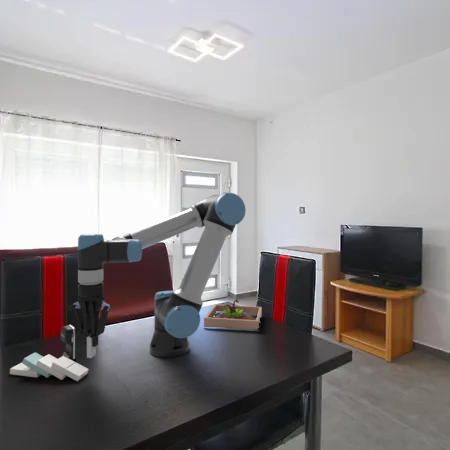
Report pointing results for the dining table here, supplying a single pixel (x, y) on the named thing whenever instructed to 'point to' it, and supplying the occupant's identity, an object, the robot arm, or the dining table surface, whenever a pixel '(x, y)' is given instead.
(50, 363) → the domino
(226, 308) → the planter corral
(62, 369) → the domino
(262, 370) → the dining table surface
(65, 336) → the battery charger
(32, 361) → the domino
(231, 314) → the plant
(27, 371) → the end domino
